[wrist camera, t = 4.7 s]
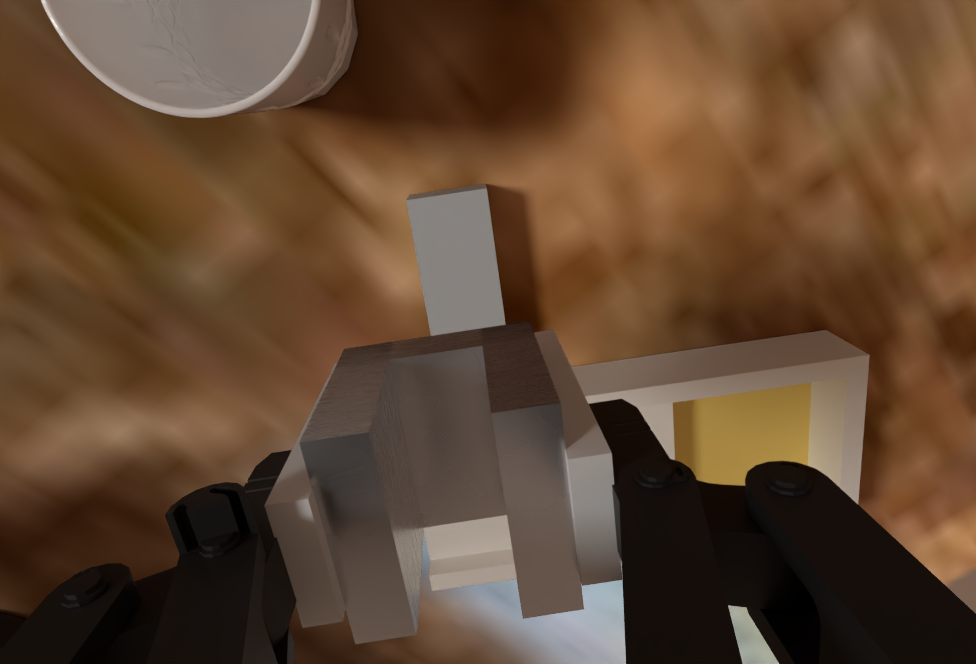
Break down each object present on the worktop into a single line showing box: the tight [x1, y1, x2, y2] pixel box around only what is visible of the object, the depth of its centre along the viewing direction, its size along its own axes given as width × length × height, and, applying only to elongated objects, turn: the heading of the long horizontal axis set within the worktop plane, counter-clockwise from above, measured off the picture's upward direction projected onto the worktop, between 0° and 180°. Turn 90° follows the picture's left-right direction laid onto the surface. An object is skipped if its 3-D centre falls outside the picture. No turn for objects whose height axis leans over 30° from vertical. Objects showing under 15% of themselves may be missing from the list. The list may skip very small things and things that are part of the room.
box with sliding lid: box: [424, 330, 870, 591], centre depth 32 cm, size 22×10×4 cm, turn 98°
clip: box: [299, 321, 584, 644], centre depth 13 cm, size 4×4×4 cm
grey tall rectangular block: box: [406, 184, 506, 336], centre depth 29 cm, size 4×8×2 cm, turn 8°
